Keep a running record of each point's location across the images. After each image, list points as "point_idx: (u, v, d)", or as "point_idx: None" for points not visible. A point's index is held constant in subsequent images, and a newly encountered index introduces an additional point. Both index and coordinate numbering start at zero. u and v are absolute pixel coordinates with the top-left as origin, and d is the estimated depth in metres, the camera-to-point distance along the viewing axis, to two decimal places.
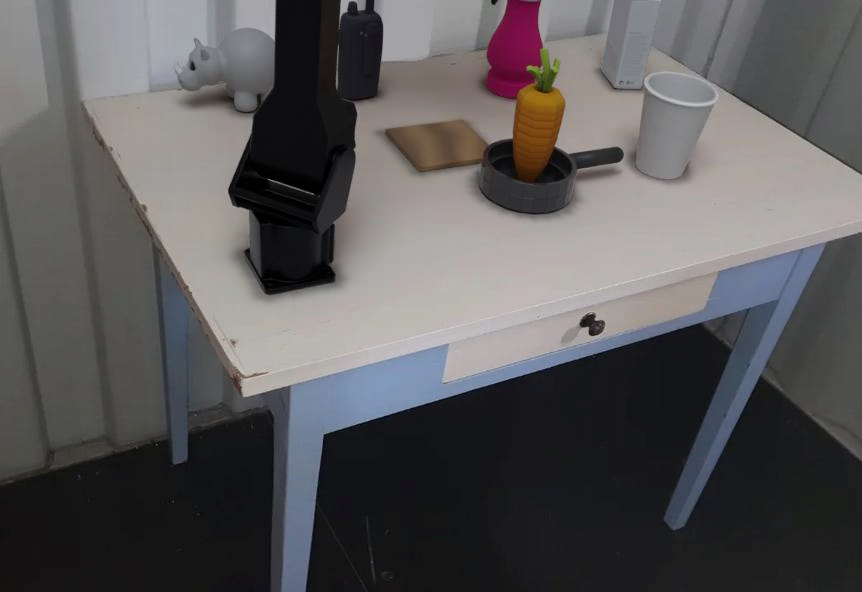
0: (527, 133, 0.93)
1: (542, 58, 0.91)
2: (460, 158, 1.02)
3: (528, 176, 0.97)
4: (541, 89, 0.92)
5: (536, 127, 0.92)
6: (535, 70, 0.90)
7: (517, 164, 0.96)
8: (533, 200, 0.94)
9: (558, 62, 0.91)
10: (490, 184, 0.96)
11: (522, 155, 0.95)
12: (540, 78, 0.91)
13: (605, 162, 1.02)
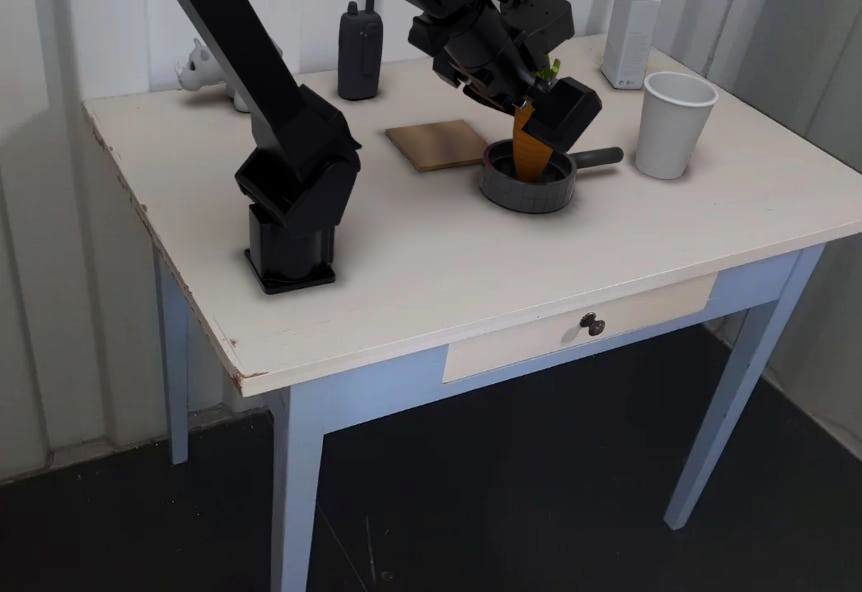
0: None
1: None
2: (460, 158, 1.02)
3: (528, 176, 0.97)
4: None
5: None
6: None
7: (517, 164, 0.96)
8: (533, 200, 0.94)
9: (558, 62, 0.91)
10: (490, 184, 0.96)
11: (522, 155, 0.95)
12: None
13: (605, 162, 1.02)
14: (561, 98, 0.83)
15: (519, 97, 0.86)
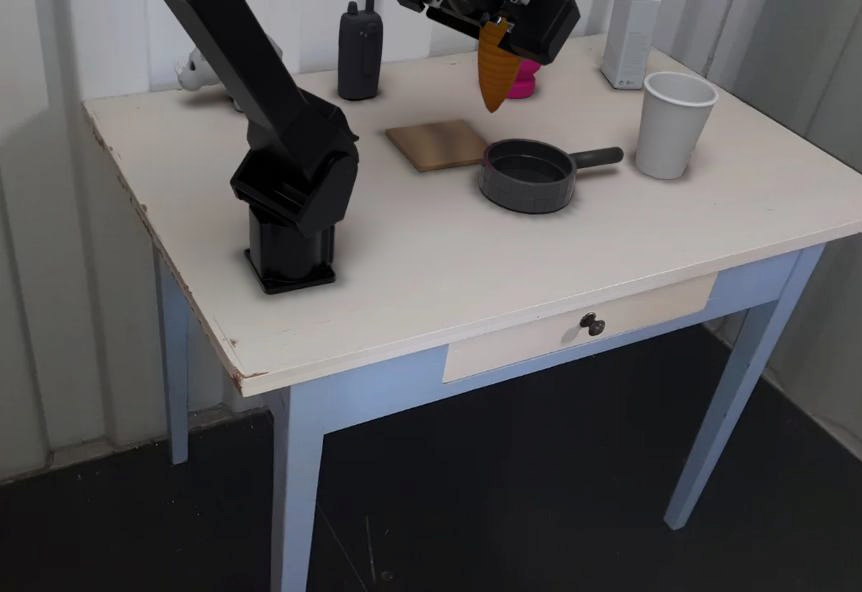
0: (496, 53, 0.92)
1: None
2: (460, 158, 1.02)
3: (496, 99, 0.96)
4: None
5: None
6: None
7: (485, 88, 0.95)
8: (533, 200, 0.94)
9: None
10: (490, 184, 0.96)
11: (490, 77, 0.94)
12: None
13: (605, 162, 1.02)
14: (542, 8, 0.83)
15: (495, 12, 0.85)
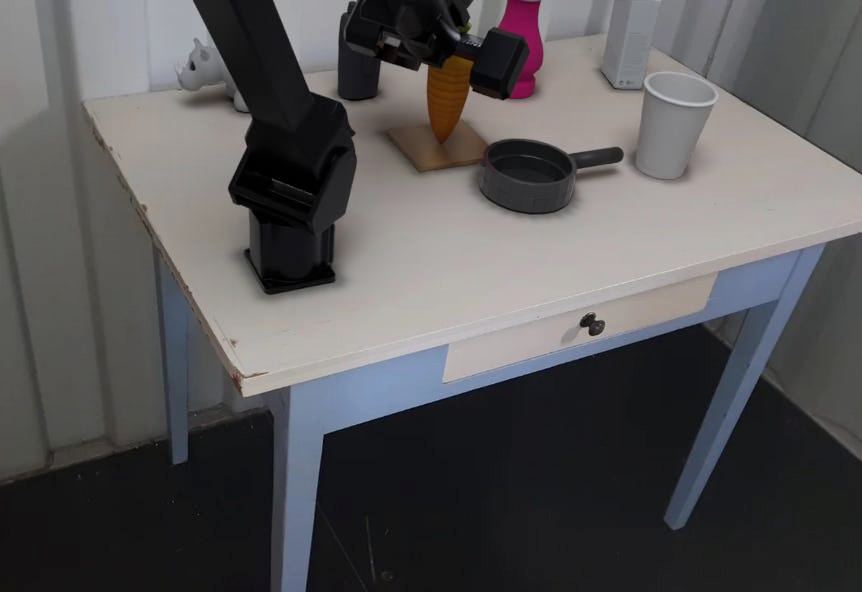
0: (446, 89, 0.98)
1: None
2: (460, 158, 1.02)
3: (446, 131, 1.02)
4: None
5: (456, 82, 0.97)
6: None
7: (436, 121, 1.01)
8: (533, 200, 0.94)
9: None
10: (490, 184, 0.96)
11: (441, 111, 0.99)
12: None
13: (605, 162, 1.02)
14: (496, 48, 0.89)
15: (450, 53, 0.91)
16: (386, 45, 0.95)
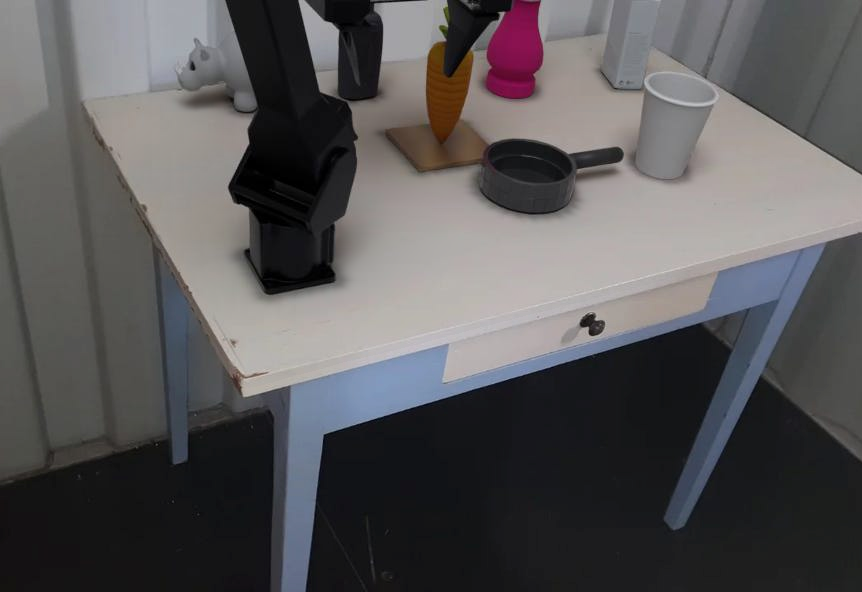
0: (445, 90, 0.98)
1: (447, 16, 0.95)
2: (460, 158, 1.02)
3: (446, 131, 1.02)
4: None
5: (454, 82, 0.97)
6: (447, 29, 0.94)
7: (435, 121, 1.01)
8: (533, 200, 0.94)
9: None
10: (490, 184, 0.96)
11: (441, 112, 0.99)
12: None
13: (605, 162, 1.02)
14: None
15: None
16: None
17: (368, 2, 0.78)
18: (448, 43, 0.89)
